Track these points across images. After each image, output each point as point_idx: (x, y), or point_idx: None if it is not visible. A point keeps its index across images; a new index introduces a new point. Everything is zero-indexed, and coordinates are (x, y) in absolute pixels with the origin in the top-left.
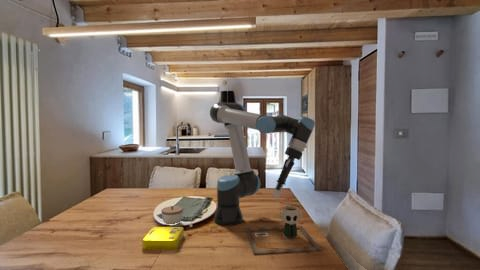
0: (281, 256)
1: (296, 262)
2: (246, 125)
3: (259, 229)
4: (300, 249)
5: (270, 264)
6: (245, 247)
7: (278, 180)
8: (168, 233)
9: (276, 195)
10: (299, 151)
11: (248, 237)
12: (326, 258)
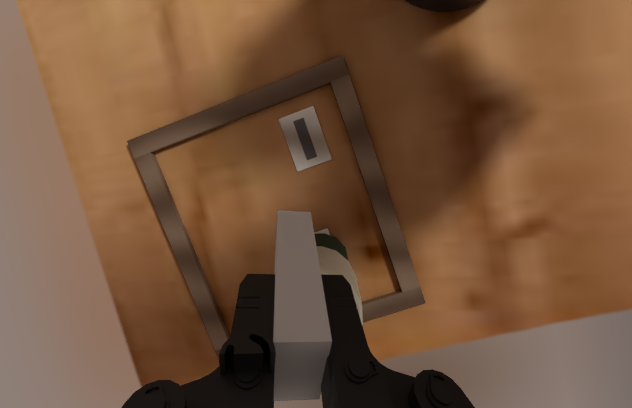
0: (148, 235)
1: (124, 283)
2: None
3: (346, 122)
4: (200, 298)
5: (88, 206)
6: (175, 98)
7: (133, 402)
8: None
9: (275, 252)
10: None
11: (257, 90)
12: (176, 371)
